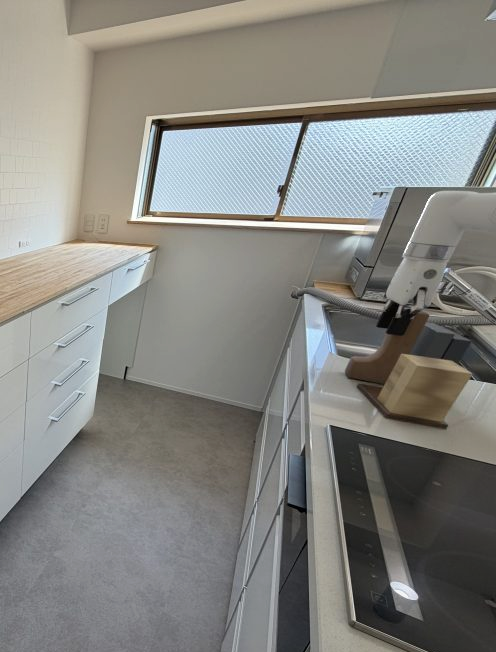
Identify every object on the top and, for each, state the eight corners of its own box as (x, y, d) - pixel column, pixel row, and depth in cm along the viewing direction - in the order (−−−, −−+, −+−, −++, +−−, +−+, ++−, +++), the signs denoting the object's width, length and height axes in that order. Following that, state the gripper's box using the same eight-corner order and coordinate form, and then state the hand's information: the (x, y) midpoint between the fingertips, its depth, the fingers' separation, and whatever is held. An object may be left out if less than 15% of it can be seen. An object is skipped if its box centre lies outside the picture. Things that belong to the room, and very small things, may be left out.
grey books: (418, 381, 104) (451, 325, 97) (437, 396, 97) (474, 336, 90) (388, 376, 106) (418, 321, 99) (404, 391, 99) (438, 332, 92)
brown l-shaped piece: (347, 377, 104) (379, 308, 96) (343, 371, 108) (374, 304, 100) (393, 386, 100) (431, 314, 93) (387, 379, 104) (423, 310, 96)
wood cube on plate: (408, 395, 97) (435, 348, 91) (446, 429, 83) (481, 376, 78) (356, 386, 100) (380, 340, 94) (385, 417, 87) (414, 366, 81)
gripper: (473, 259, 82) (427, 345, 90) (429, 249, 96) (392, 323, 105) (426, 256, 85) (384, 339, 93) (389, 246, 99) (356, 319, 107)
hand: (389, 330), depth 99 cm, fingers closed on brown l-shaped piece, 4 cm apart
